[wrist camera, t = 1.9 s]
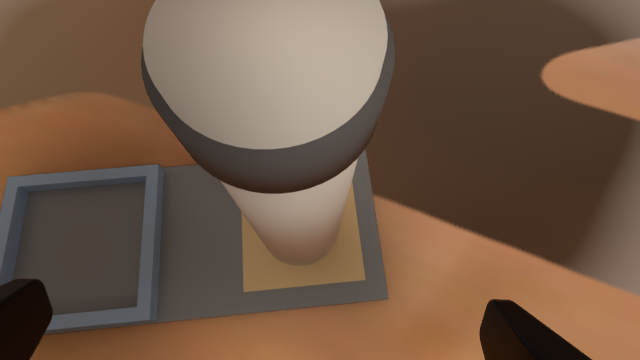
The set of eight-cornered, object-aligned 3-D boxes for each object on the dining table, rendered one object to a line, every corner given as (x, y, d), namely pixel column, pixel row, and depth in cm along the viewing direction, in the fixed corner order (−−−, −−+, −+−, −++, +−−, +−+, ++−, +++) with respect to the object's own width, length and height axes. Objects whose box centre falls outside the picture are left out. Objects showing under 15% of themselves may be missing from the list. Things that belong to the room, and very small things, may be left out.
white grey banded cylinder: (302, 288, 18) (269, 210, 5) (239, 230, 19) (74, 36, 6) (359, 222, 19) (452, 21, 6) (297, 170, 20) (264, -99, 7)
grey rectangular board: (364, 152, 21) (367, 144, 20) (387, 299, 18) (391, 298, 17) (21, 181, 20) (5, 174, 19) (-10, 339, 18) (-31, 341, 16)
